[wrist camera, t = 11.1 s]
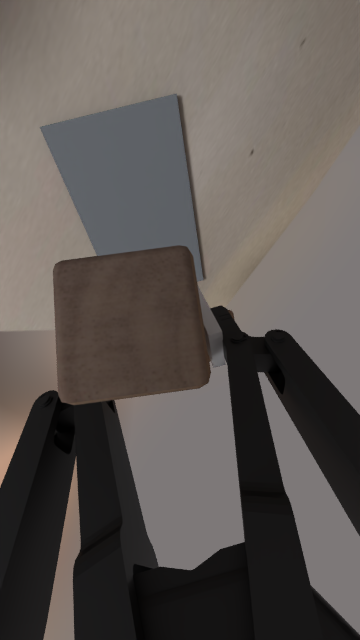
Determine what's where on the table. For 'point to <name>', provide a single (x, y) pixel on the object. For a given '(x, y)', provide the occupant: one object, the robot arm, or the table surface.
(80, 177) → the mat
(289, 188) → the table surface
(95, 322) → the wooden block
